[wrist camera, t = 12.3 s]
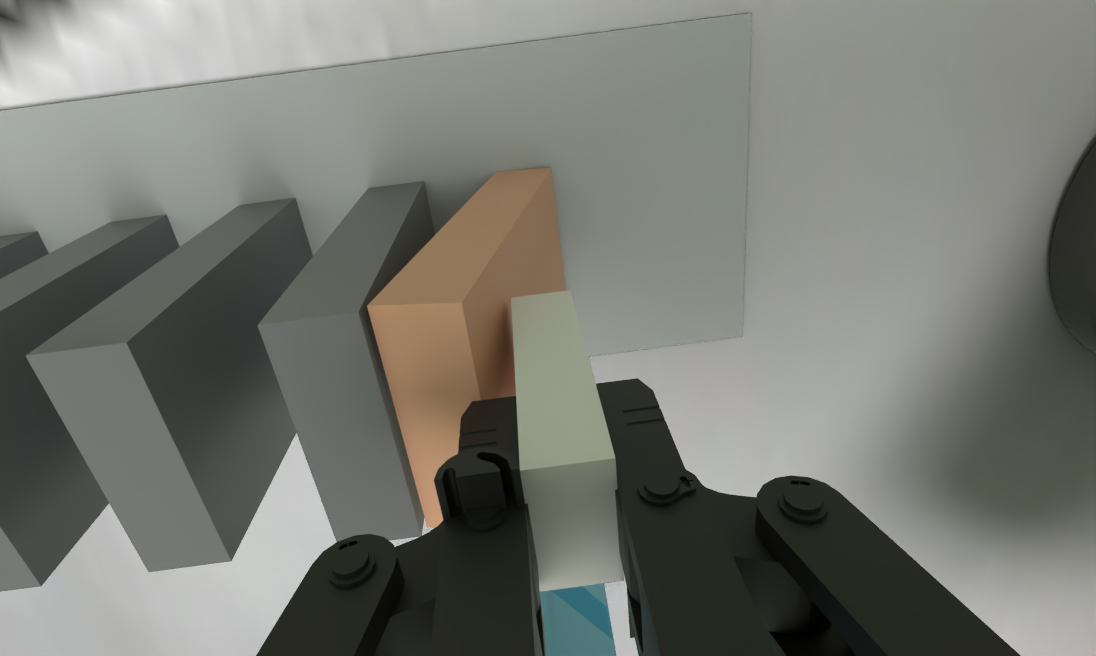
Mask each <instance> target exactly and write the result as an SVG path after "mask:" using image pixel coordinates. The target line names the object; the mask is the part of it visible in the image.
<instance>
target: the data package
mask: <svg viewBox="0 0 1096 656" xmlns="http://www.w3.org/2000/svg"><path fill="white" fill-rule="evenodd" d="M540 601H541V607H542V614H543V620H544V633H545V645H546V656H616V651H615V645H614V639H613V633H612V627H611V622H610V616H609V610H608V604H607V598H606V593H605V587H604V583H602V584H594V585H587V586H579V587H572V588H564V589H557V590H550V591H542V592H540Z"/></svg>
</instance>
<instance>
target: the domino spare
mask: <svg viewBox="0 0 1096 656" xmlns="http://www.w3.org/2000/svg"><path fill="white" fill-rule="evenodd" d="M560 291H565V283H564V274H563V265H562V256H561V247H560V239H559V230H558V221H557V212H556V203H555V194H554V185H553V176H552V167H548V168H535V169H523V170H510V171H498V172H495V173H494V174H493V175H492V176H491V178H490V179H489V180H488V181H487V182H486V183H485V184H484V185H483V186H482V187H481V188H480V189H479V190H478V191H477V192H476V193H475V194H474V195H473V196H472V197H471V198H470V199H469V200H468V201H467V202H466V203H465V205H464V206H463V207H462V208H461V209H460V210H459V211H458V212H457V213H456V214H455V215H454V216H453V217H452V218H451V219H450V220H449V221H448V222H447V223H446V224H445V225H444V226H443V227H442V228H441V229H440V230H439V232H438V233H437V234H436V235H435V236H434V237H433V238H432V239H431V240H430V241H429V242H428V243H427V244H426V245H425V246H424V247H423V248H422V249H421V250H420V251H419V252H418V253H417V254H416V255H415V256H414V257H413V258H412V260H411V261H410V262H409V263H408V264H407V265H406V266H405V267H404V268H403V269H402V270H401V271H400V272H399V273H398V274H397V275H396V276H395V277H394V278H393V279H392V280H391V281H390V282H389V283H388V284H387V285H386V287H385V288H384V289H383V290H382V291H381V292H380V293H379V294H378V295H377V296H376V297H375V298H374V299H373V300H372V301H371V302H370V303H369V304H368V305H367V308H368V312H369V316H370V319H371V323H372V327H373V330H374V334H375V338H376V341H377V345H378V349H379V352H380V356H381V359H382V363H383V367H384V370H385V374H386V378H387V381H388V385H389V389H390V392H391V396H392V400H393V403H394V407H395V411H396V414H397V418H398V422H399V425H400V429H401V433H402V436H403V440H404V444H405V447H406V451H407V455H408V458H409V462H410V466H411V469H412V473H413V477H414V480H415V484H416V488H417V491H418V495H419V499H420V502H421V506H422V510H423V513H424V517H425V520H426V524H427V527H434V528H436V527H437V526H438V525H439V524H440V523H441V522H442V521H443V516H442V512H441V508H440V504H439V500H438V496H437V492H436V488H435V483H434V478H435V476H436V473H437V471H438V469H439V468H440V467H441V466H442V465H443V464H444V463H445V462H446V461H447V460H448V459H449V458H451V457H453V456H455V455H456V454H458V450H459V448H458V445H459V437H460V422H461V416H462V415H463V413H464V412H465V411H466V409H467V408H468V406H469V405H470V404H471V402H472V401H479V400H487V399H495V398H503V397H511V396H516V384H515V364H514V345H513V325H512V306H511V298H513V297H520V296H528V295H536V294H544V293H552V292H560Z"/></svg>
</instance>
